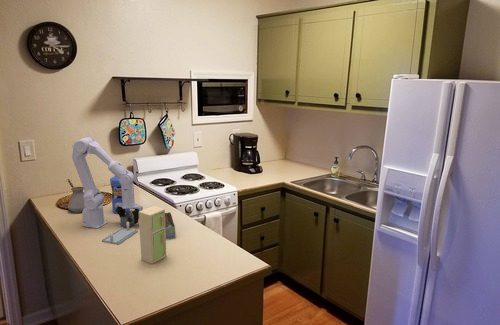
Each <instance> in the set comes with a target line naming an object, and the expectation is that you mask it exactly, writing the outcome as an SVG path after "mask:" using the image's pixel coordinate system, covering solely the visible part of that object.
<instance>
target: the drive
mask: <svg viewBox="0 0 500 325" xmlns="http://www.w3.org/2000/svg"><path fill="white" fill-rule="evenodd" d="M132 211H133V210H130V212H128V213H125V214H124V215H123V216H121V217H120V216H119V218H120V221H119V222H120V228H122V227H123V228H124V229H127V224H126V222H129V229H131V228H132V227H134V226H136V224H135V223H134V216H133V213H132ZM138 223H139V220H138Z"/></svg>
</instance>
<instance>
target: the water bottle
mask: <svg viewBox="0 0 500 325" xmlns="http://www.w3.org/2000/svg"><path fill="white" fill-rule="evenodd" d="M119 180H120V179H118V178H117V177H116V176H115V175H114V176H112V177H110V178H109V181H110V188H111V207H112V214H114V215H115V214H116V215H119V214H118V213H117V212H116V209H117V208H116V207H115V204H116V203H122V189H121V188H122V187H121V184H120V183H119ZM130 211H131V209H128V208H126V210H125V214H126V213H128V212H130Z"/></svg>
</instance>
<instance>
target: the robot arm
mask: <svg viewBox="0 0 500 325" xmlns="http://www.w3.org/2000/svg"><path fill="white" fill-rule="evenodd" d="M71 153H72V155H71V159H72V161H73V165H74V166H75V169H76V172H77V174H78V178H79V180H80V183H81V185H82V186H81V187H83V188H84V189H83V192H84V205H85V208H84V209H83V212H81V213H82V215H81V216H82V225H81V226H82V227H86V228H87V227H88V228H93V229H99V228H101V227H103V226H105V225H106V224H108V223H109V221H107V220H105V217H104V206H103V203H104V201H105V196H104V194H103V193H101V190H100V189H99V188H97V186H96V184H95V181H94V178H93V174H92V172H91V170H90V167H89V164H88V162H87V159H86V157H87V156H88V154H89V155H95V156H96V157H97V158H99V159H100V160H101V161H102V162H103V163H105V164H106V165H107V169H108V171H109V172H111V173H112V174H113V175H114V176H116V177H117V178H118V179H120V180H119V183H120V184H121V187H122V188H121V189H122V203H116V204H115V207H116V208H117V209H116V212H117V213H118V214H117V215H118V216H119V218H120V217H121V216H123V215H124V214H126V213H125V210H126V208H128V209H130V210H131V211H132V213H133V216H134V223H135V225H137V224H138V223H139V222H138V220H139V211H142V210H144V209H143V205H140V204H137V203H135V202H136V201H135V188H134V187H135V186H134V180H135V178H136V177H135V176H136V175H135V174H134V173H133V171H130V170H129V169H126V168H125V167H124V165H123V164H122V162H121V161H118V160H113V158H112V157H111V156H110V155H109V154H108V153H107V152H106V151H105V150H104V148H102V147H101V145H100V144H99V142H98V141H96V140H95V138H93V137H92V136H85V137H83V138H81V139H80V138H79V139H77V140H75V142H74V143H73V144H72V152H71Z"/></svg>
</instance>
